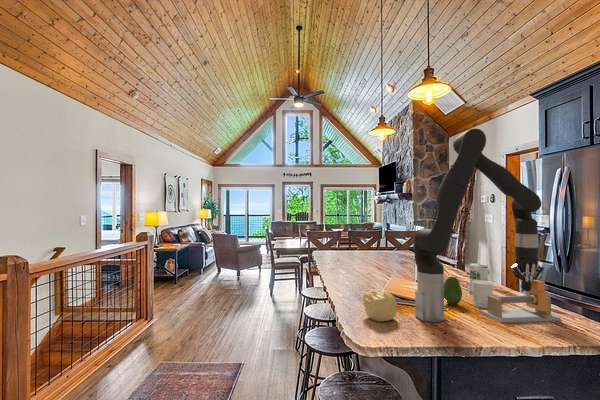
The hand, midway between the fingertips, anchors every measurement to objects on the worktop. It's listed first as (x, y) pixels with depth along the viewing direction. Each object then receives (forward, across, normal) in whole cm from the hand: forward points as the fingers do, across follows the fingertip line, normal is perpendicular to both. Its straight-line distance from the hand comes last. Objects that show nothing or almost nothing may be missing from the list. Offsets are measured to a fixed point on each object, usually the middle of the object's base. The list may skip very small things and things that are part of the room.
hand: (526, 290), depth 125 cm
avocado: (+10, -20, +17) cm, 28 cm away
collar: (+7, +4, 0) cm, 8 cm away
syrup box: (+10, +2, +31) cm, 32 cm away
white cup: (+10, -8, +14) cm, 19 cm away
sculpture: (+10, -57, +2) cm, 58 cm away
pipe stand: (+10, -3, 0) cm, 10 cm away
